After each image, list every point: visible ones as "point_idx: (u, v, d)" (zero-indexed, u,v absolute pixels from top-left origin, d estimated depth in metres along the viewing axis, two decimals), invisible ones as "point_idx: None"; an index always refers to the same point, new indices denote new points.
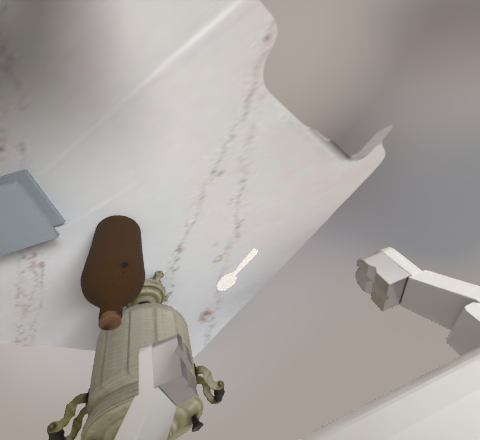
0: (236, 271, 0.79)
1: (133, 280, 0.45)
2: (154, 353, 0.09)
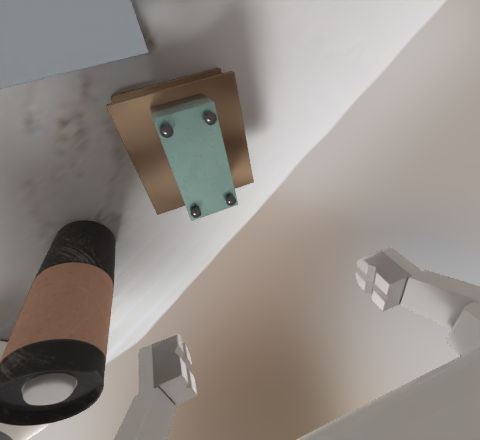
0: None
1: None
2: (154, 353, 0.09)
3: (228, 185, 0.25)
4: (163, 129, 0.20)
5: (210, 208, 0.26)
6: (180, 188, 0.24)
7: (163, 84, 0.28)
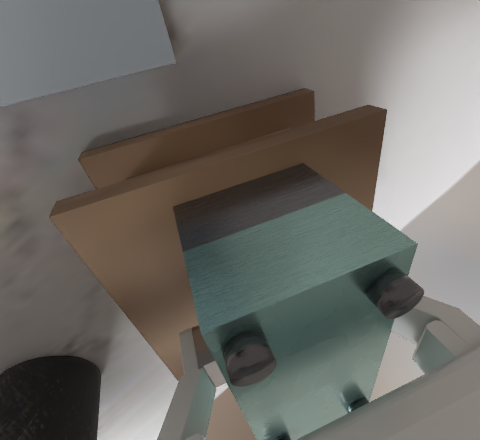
0: None
1: None
2: (195, 336, 0.09)
3: (362, 389, 0.10)
4: (243, 372, 0.05)
5: (311, 429, 0.11)
6: (255, 429, 0.09)
7: (196, 127, 0.13)
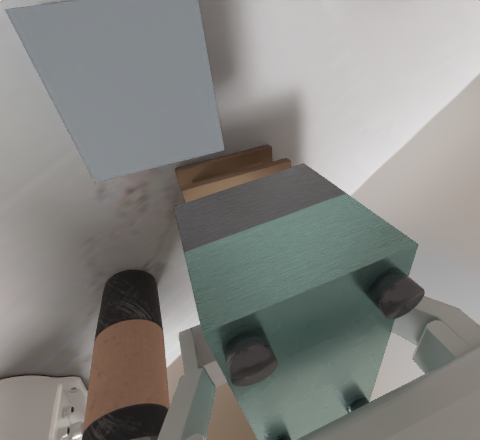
0: None
1: None
2: (195, 336, 0.09)
3: (362, 389, 0.10)
4: (244, 372, 0.05)
5: (312, 429, 0.11)
6: (256, 429, 0.09)
7: (221, 160, 0.31)
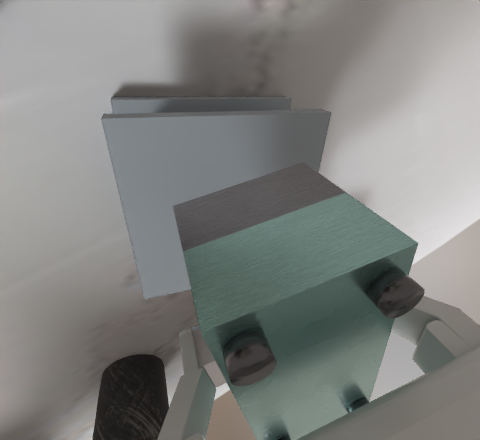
0: None
1: None
2: (195, 336, 0.09)
3: (362, 389, 0.10)
4: (243, 372, 0.05)
5: (312, 429, 0.11)
6: (255, 429, 0.09)
7: None
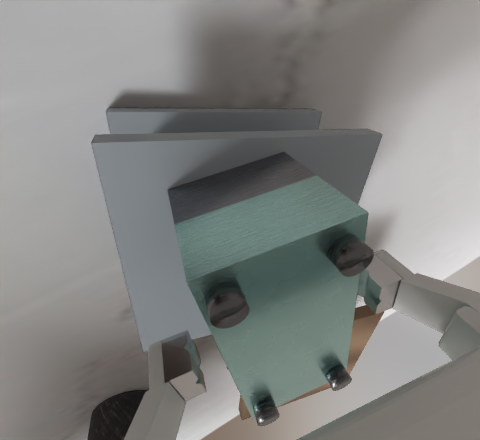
0: None
1: None
2: (164, 349, 0.09)
3: (338, 355, 0.11)
4: (221, 314, 0.06)
5: (293, 393, 0.12)
6: (240, 385, 0.10)
7: None
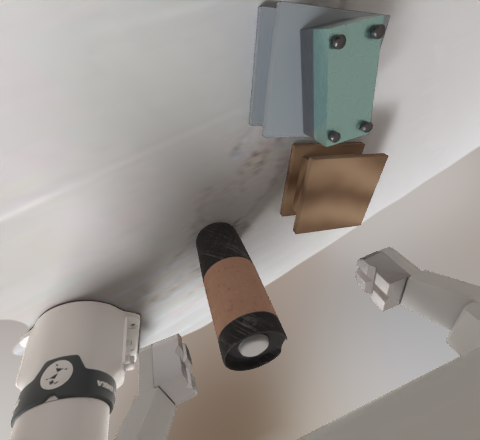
0: None
1: None
2: (154, 353, 0.09)
3: (367, 111, 0.26)
4: (338, 40, 0.21)
5: (345, 135, 0.27)
6: (328, 109, 0.25)
7: (328, 146, 0.39)
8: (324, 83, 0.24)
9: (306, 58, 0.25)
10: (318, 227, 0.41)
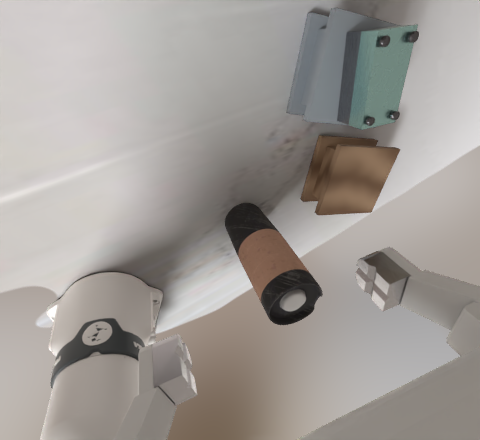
0: None
1: None
2: (154, 353, 0.09)
3: (396, 102, 0.32)
4: (384, 39, 0.26)
5: (377, 121, 0.32)
6: (368, 97, 0.30)
7: (349, 139, 0.45)
8: (367, 75, 0.29)
9: (350, 56, 0.31)
10: (337, 210, 0.46)
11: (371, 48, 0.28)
